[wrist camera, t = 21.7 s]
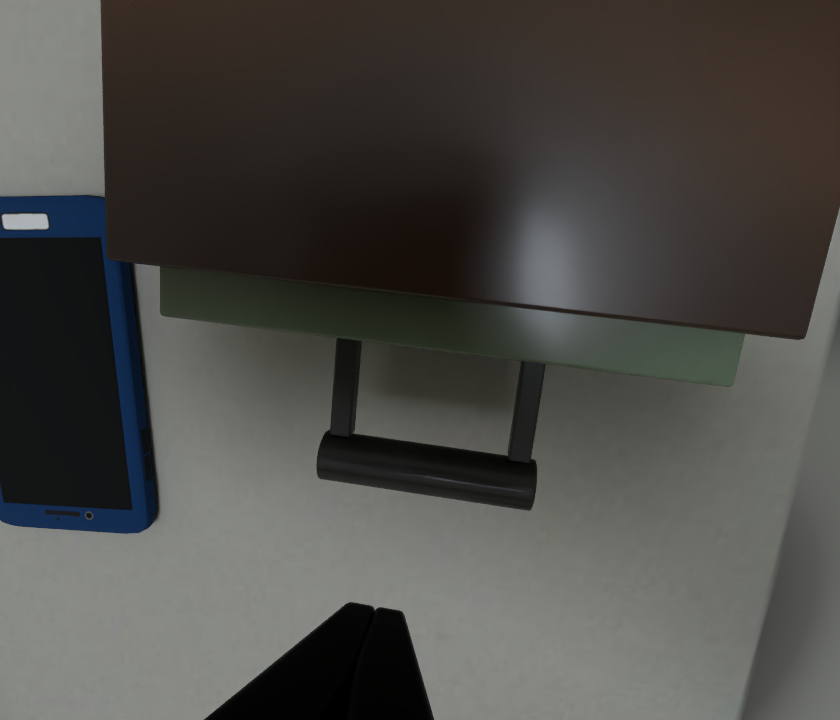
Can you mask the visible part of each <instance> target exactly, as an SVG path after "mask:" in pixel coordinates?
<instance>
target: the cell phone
mask: <svg viewBox="0 0 840 720" xmlns="http://www.w3.org/2000/svg"><path fill="white" fill-rule="evenodd" d="M155 515H156V499H155V490H154V481H153V472H152V463H151V454H150V445H149V436H148V427H147V418H146V409H145V400H144V391H143V382H142V373H141V364H140V354H139V345H138V336H137V327H136V318H135V309H134V300H133V291H132V282H131V273H130V264H129V263H128V262H119V261H112V260H110V259H108V258H107V256H106V215H105V198H103V197H99V196H89V195H77V196H22V197H0V520H1V521H2V522H4V523H7V524H10V525H15V526H22V527H36V528H51V529H66V530H81V531H95V532H110V533H125V534H126V533H140V532H142V531H143V530H145V529H147V528H149V527H150V526H151V525H152V523H153V520H154V518H155Z"/></svg>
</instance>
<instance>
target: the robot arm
mask: <svg viewBox="0 0 840 720" xmlns="http://www.w3.org/2000/svg"><path fill="white" fill-rule="evenodd" d="M204 720H434V717H433V714H432V710H431V707H430V703H429V700H428V696H427V693H426V689H425V686H424V682H423V679H422V675H421V672H420V668H419V665H418V661H417V658H416V654H415V651H414V647H413V644H412V640H411V637H410V633H409V630H408V626H407V623H406V619H405V616H404V614H403V612H402V611H399V610H393V609H388V608H382V607H379V608H377V609H376V610H375V609H374V607H373V606H370V605H365V604H359V603H353V602H350V603H347V604H345V605H344V606H343V607H342V608H340V609H339V610H338V611H337V612H336V613H334V614H333V615H332V616H331V617H329V618H328V619H327V620H326V621H325V622H323V623H322V624H321V625H320V626H318V627H317V628H316V629H315V630H313V631H312V632H311V633H310V634H309V635H307V636H306V637H305V638H304V639H302V640H301V641H300V642H299V643H298V644H296V645H295V646H294V647H293V648H291V649H290V650H289V651H288V652H286V653H285V654H284V655H283V656H282V657H280V658H279V659H278V660H277V661H275V662H274V663H273V664H272V665H271V666H269V667H268V668H267V669H266V670H264V671H263V672H262V673H261V674H259V675H258V676H257V677H256V678H255V679H253V680H252V681H251V682H250V683H248V684H247V685H246V686H245V687H243V688H242V689H241V690H240V691H239V692H237V693H236V694H235V695H234V696H232V697H231V698H230V699H229V700H228V701H226V702H225V703H224V704H223V705H221V706H220V707H219V708H218V709H216V710H215V711H214V712H213V713H212V714H210V715H209V716H208V717H207V718H205V719H204Z"/></svg>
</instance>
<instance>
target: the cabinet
mask: <svg viewBox="0 0 840 720" xmlns="http://www.w3.org/2000/svg"><path fill="white" fill-rule="evenodd" d="M101 36H102V81H103V125H104V170H105V215H106V256H107V258H108V259H110V260H112V261H119V262H128V263H137V264H145V265H154V266H163V267H171V268H180V269H189V270H197V271H206V272H215V273H223V274H232V275H241V276H249V277H258V278H267V279H275V280H284V281H293V282H301V283H310V284H319V285H327V286H336V287H345V288H353V289H362V290H371V291H379V292H388V293H397V294H405V295H414V296H423V297H431V298H440V299H448V300H457V301H466V302H474V303H483V304H492V305H500V306H509V307H518V308H526V309H535V310H544V311H552V312H561V313H570V314H578V315H587V316H596V317H604V318H613V319H622V320H630V321H639V322H648V323H656V324H665V325H674V326H682V327H691V328H700V329H708V330H717V331H726V332H734V333H743V334H752V335H760V336H769V337H777V338H786V339H795V340H800V339H804V338H805V336H806V333H807V330H808V326H809V322H810V318H811V314H812V310H813V307H814V303H815V299H816V295H817V291H818V288H819V284H820V280H821V276H822V272H823V268H824V265H825V261H826V257H827V253H828V249H829V246H830V242H831V238H832V234H833V230H834V226H835V223H836V219H837V215H838V211H839V207H840V0H101Z"/></svg>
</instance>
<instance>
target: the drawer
mask: <svg viewBox="0 0 840 720" xmlns="http://www.w3.org/2000/svg"><path fill="white" fill-rule="evenodd" d="M160 313H161V315H163V316H166V317H174V318H182V319H190V320H198V321H206V322H214V323H222V324H230V325H238V326H246V327H254V328H262V329H270V330H278V331H286V332H294V333H302V334H310V335H318V336H326V337H334V338H337V340H336V354H335V369H334V383H333V397H332V411H331V425H330V430H328V431H326V432H325V434H324V436H323V438H322V440H321V443H320V446H319V450H318V456H317V475H318V477H319V478H320V479H325V480H331V481H338V482H345V483H351V484H358V485H364V486H371V487H377V488H384V489H390V490H397V491H403V492H410V493H416V494H423V495H430V496H436V497H443V498H449V499H456V500H462V501H469V502H475V503H482V504H488V505H495V506H501V507H508V508H515V509H521V510H528V511H530V510H531V509H532V507H533V503H534V499H535V493H536V484H537V464H536V461H535V460H534V459H531V455H532V448H533V442H534V436H535V429H536V423H537V417H538V410H539V404H540V398H541V391H542V385H543V379H544V372H545V366H546V364H549V365H557V366H565V367H573V368H581V369H589V370H597V371H605V372H613V373H621V374H629V375H637V376H645V377H653V378H661V379H669V380H677V381H685V382H693V383H701V384H709V385H717V386H725V387H729V386H732V385H733V382H734V378H735V374H736V370H737V365H738V361H739V357H740V353H741V349H742V344H743V340H744V336H745V334H743V333H734V332H726V331H717V330H708V329H700V328H691V327H682V326H674V325H665V324H656V323H648V322H639V321H630V320H622V319H613V318H604V317H596V316H587V315H578V314H570V313H561V312H552V311H544V310H535V309H526V308H518V307H509V306H500V305H492V304H483V303H474V302H466V301H457V300H448V299H440V298H431V297H423V296H414V295H405V294H397V293H388V292H379V291H371V290H362V289H353V288H345V287H336V286H327V285H319V284H310V283H301V282H293V281H284V280H275V279H267V278H258V277H249V276H241V275H232V274H223V273H215V272H206V271H197V270H189V269H180V268H171V267H163V266H160ZM362 341H366V342H374V343H382V344H390V345H398V346H406V347H414V348H422V349H430V350H438V351H446V352H454V353H462V354H470V355H477V356H485V357H493V358H501V359H509V360H517V361H521V365H520V372H519V378H518V385H517V392H516V399H515V405H514V412H513V419H512V426H511V433H510V439H509V446H508V456H506V455H499V454H492V453H485V452H478V451H471V450H464V449H457V448H450V447H443V446H436V445H429V444H422V443H415V442H408V441H401V440H394V439H387V438H381V437H374V436H367V435H360V434H353V432H354V430H355V420H356V407H357V395H358V383H359V370H360V358H361V346H362Z"/></svg>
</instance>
